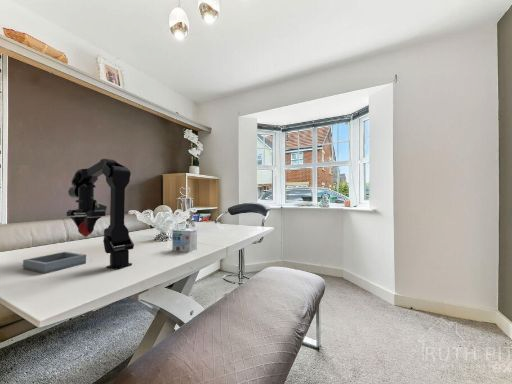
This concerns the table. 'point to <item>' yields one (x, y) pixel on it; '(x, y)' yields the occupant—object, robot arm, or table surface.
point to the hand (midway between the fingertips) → (86, 232)
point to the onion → (84, 229)
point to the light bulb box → (184, 240)
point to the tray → (54, 262)
